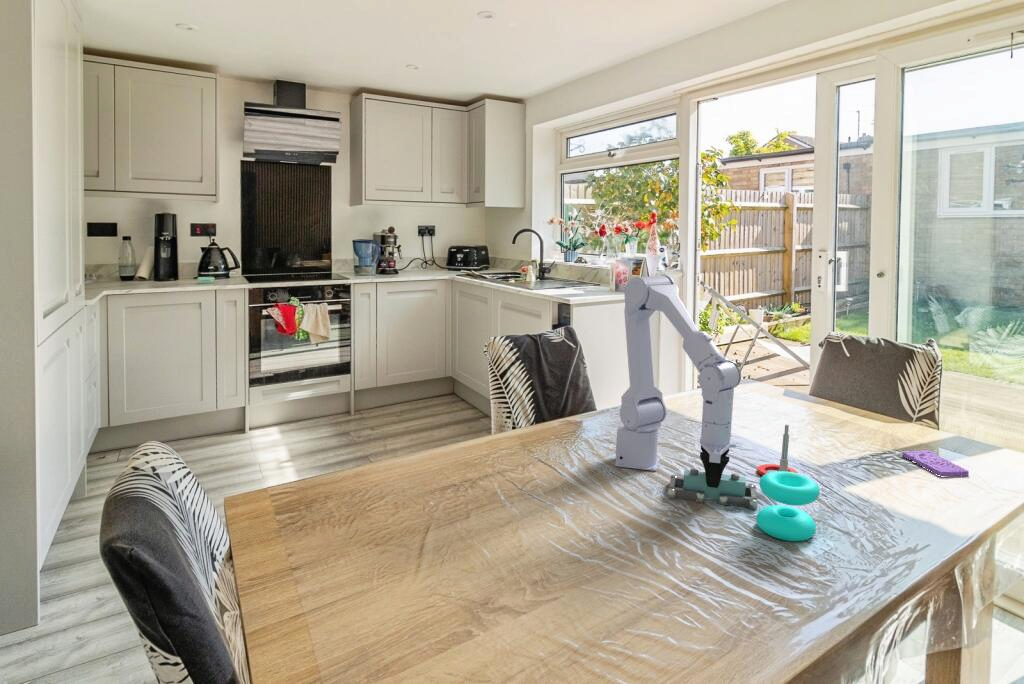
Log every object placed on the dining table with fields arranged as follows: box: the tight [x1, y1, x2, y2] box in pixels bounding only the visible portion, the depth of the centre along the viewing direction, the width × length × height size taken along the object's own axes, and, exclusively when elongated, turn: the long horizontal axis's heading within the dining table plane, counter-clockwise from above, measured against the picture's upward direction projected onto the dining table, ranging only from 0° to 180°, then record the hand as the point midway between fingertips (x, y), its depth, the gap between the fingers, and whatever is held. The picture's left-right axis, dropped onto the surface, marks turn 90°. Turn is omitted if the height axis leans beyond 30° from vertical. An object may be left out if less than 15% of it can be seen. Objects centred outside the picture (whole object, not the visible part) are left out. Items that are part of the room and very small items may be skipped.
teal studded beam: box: [682, 468, 747, 501], centre depth 127 cm, size 12×3×5 cm, turn 72°
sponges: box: [901, 449, 970, 477], centre depth 143 cm, size 7×13×2 cm, turn 4°
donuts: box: [756, 470, 820, 542], centre depth 112 cm, size 10×10×10 cm
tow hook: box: [756, 424, 799, 477], centre depth 137 cm, size 8×13×9 cm
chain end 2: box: [718, 483, 759, 511], centre depth 126 cm, size 7×9×2 cm
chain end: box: [667, 474, 706, 504], centre depth 129 cm, size 7×9×2 cm
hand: (712, 483), depth 127 cm, fingers closed on teal studded beam, 3 cm apart
